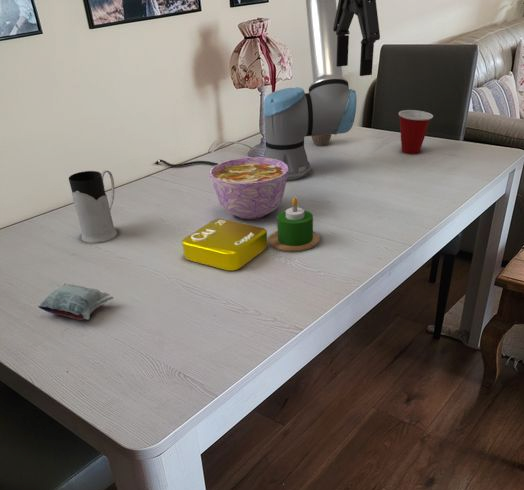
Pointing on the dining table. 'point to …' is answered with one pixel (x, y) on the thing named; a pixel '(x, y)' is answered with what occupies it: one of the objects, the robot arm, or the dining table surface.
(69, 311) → the packaged food
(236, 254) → the element tile
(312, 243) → the cork trivet
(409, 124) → the plastic cup
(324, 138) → the vase
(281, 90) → the robot arm
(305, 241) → the candle
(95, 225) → the glass holder
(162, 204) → the dining table surface
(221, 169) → the bowl of food
